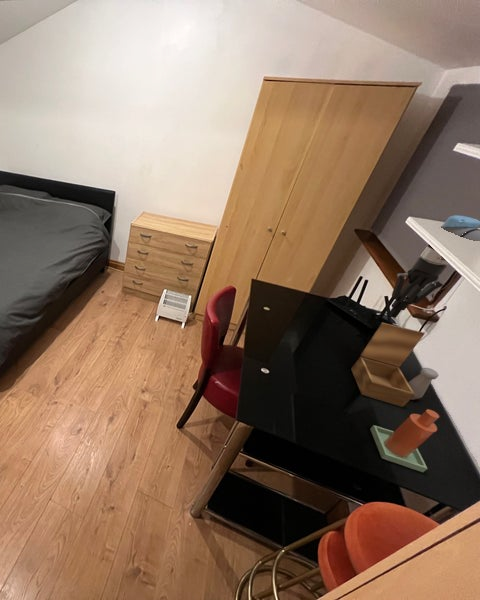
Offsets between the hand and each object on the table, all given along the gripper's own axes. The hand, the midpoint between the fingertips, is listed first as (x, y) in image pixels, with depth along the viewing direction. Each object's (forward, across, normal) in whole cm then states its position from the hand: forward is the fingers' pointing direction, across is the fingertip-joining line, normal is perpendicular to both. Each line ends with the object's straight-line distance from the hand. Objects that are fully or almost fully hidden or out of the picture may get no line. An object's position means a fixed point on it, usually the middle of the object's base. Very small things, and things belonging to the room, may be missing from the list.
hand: (392, 315), depth 124 cm
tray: (+22, -3, -48) cm, 53 cm away
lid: (+7, 0, -11) cm, 13 cm away
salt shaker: (+22, +11, -18) cm, 30 cm away
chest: (+22, 0, -18) cm, 29 cm away
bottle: (+21, -3, -48) cm, 52 cm away
